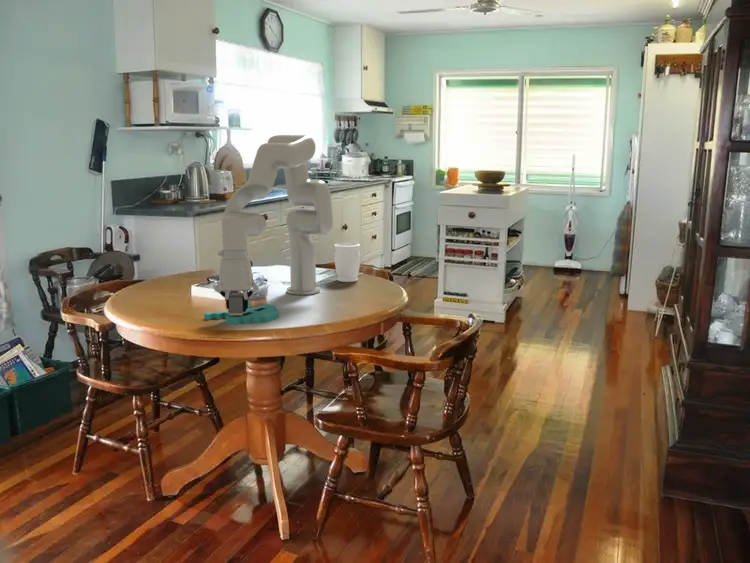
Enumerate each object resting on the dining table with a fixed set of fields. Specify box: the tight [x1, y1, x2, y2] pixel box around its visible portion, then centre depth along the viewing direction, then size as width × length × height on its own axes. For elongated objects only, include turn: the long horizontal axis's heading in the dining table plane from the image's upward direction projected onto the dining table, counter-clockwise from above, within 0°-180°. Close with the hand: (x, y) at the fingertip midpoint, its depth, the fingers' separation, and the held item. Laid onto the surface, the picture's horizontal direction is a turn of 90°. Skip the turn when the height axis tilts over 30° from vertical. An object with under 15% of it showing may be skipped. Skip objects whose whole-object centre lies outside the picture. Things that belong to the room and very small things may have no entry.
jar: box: [333, 242, 361, 283], centre depth 278 cm, size 11×10×15 cm
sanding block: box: [229, 292, 244, 315], centre depth 218 cm, size 7×4×6 cm, turn 3°
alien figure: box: [203, 301, 280, 325], centre depth 224 cm, size 20×2×20 cm
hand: (237, 310), depth 219 cm, fingers closed on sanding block, 4 cm apart
